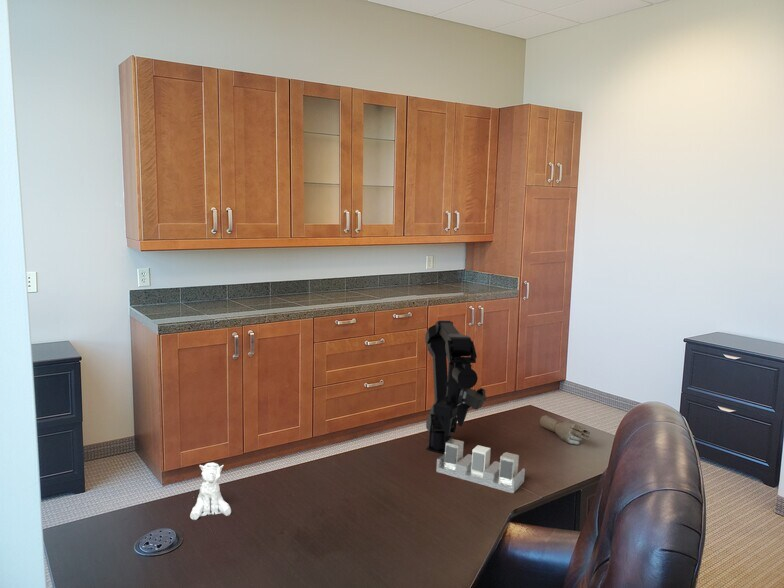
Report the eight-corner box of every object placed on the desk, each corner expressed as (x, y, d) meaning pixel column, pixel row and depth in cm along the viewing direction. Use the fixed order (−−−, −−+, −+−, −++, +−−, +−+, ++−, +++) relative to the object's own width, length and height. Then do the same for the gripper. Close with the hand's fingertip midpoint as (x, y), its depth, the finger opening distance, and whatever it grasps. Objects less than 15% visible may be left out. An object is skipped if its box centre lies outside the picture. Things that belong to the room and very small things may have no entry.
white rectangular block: (470, 473, 176) (471, 449, 175) (476, 467, 180) (477, 445, 179) (483, 476, 174) (485, 453, 173) (489, 471, 178) (490, 448, 177)
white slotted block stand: (436, 471, 179) (438, 444, 178) (449, 461, 187) (451, 435, 186) (513, 493, 167) (515, 463, 166) (523, 482, 175) (526, 453, 174)
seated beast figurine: (190, 521, 144) (190, 473, 143) (188, 504, 152) (188, 459, 151) (231, 515, 148) (231, 468, 146) (227, 500, 156) (227, 455, 154)
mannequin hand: (554, 433, 223) (593, 453, 199) (537, 429, 222) (574, 449, 197) (560, 414, 224) (599, 432, 199) (542, 410, 222) (579, 427, 198)
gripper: (469, 391, 166) (466, 446, 168) (495, 377, 182) (491, 427, 184) (433, 383, 171) (430, 437, 174) (460, 370, 187) (457, 419, 189)
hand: (454, 430), depth 180 cm, fingers open, 9 cm apart
